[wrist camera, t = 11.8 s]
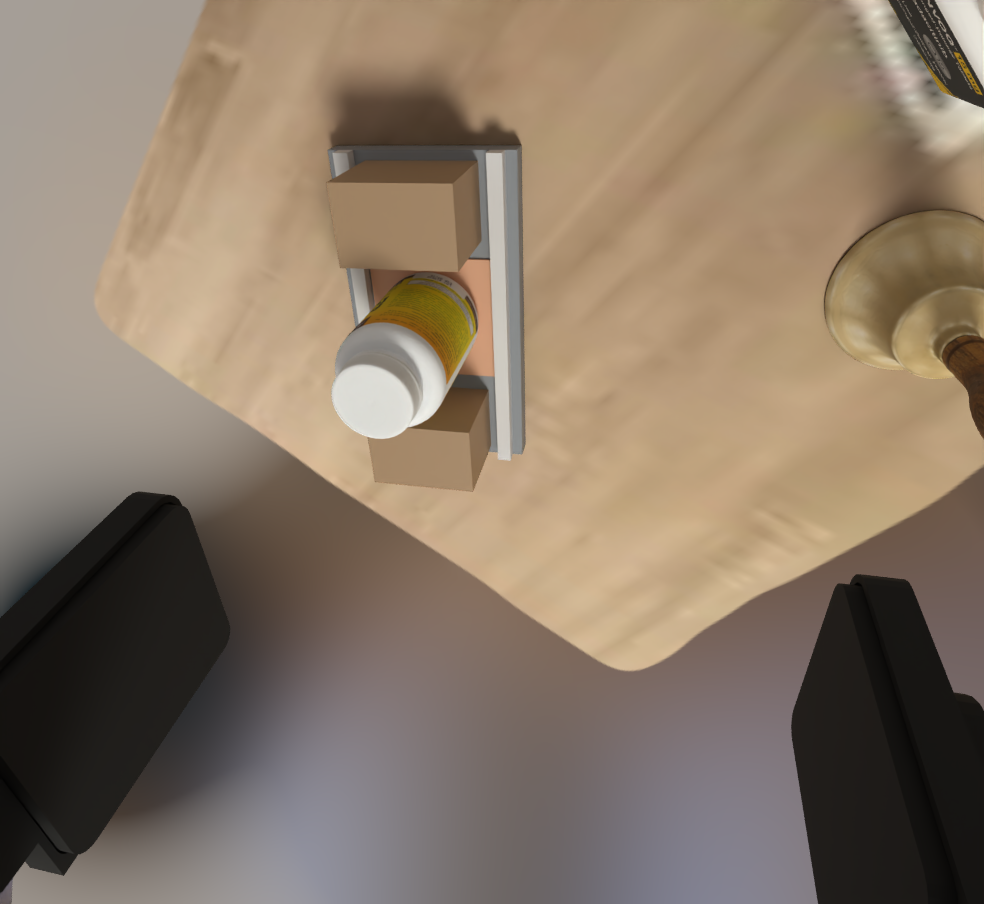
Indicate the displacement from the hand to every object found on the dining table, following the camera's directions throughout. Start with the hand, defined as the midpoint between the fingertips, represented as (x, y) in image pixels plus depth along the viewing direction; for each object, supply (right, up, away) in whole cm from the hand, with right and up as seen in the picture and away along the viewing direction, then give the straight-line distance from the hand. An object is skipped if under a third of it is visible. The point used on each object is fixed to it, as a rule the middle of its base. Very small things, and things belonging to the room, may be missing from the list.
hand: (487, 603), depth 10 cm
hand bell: (+21, +10, +25) cm, 34 cm away
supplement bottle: (-3, +10, +30) cm, 32 cm away
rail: (-3, +11, +31) cm, 33 cm away
